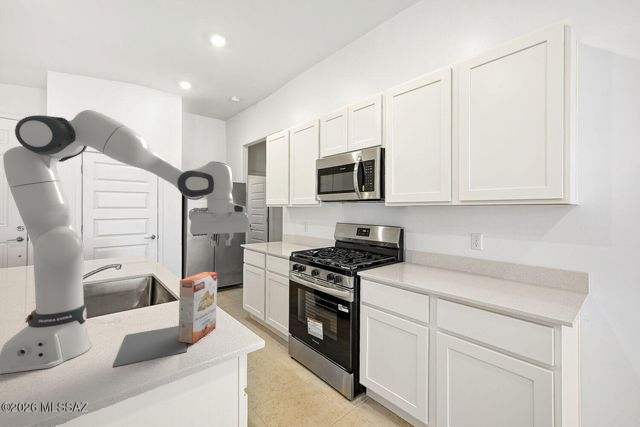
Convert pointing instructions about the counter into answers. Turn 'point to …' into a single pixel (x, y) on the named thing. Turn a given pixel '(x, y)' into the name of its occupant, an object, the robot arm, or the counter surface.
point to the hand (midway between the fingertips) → (220, 245)
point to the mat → (150, 346)
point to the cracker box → (197, 306)
